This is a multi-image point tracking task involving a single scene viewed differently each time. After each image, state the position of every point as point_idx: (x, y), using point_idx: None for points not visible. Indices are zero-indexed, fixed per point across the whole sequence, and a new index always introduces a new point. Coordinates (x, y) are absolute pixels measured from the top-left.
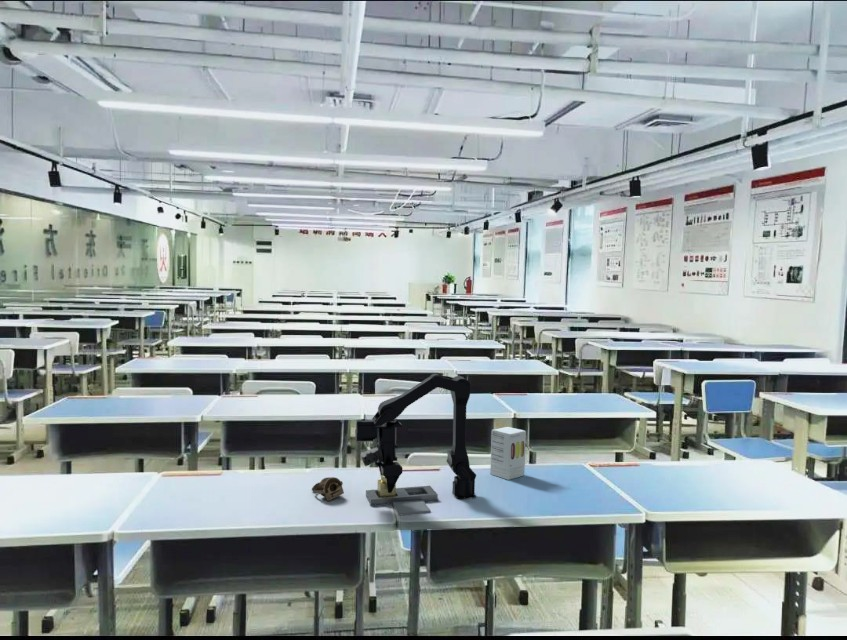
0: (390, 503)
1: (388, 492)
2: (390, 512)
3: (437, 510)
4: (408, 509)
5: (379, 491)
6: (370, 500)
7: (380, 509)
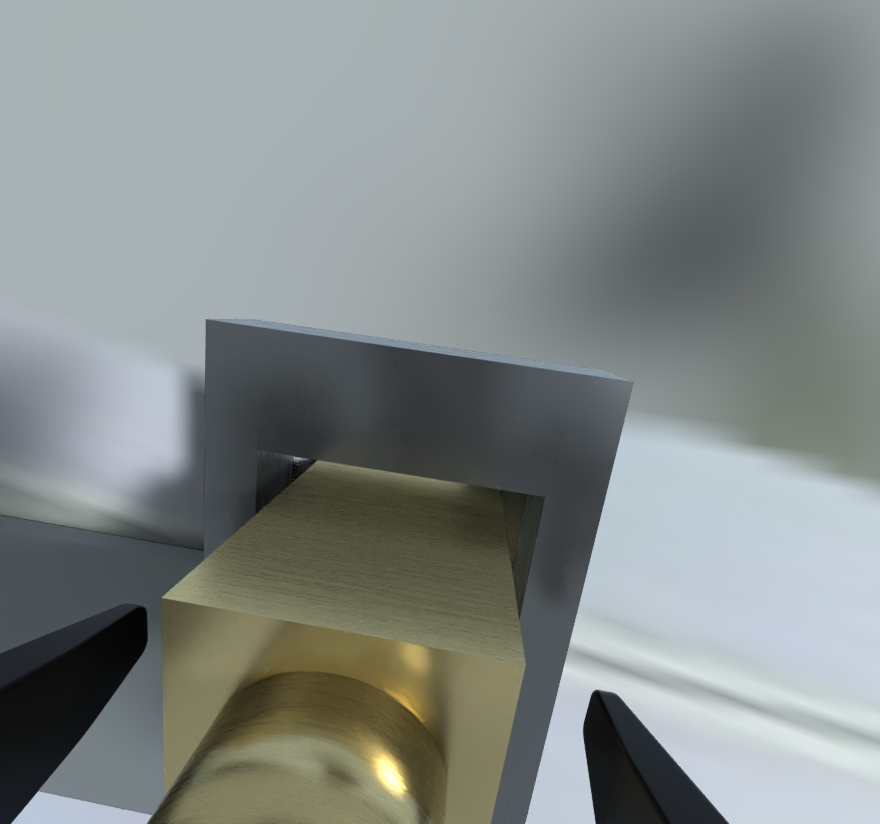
0: None
1: (123, 607)
2: (27, 457)
3: (21, 815)
4: (7, 630)
5: (341, 522)
6: (235, 321)
7: (126, 390)
